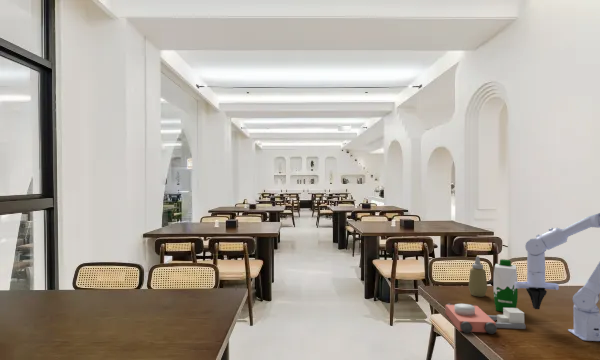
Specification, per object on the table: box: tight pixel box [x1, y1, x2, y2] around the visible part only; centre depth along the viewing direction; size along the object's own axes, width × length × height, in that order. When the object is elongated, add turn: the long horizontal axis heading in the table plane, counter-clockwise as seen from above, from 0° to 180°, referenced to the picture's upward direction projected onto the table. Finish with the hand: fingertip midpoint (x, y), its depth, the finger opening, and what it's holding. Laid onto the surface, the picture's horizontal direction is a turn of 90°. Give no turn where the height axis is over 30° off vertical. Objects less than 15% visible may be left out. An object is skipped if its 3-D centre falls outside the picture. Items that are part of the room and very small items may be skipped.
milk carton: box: [493, 258, 519, 313], centre depth 165 cm, size 9×9×20 cm
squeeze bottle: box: [468, 255, 488, 298], centre depth 188 cm, size 8×8×18 cm
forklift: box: [444, 303, 527, 335], centre depth 149 cm, size 23×24×6 cm
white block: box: [496, 307, 525, 324], centre depth 148 cm, size 6×8×5 cm
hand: (536, 308), depth 147 cm, fingers closed
